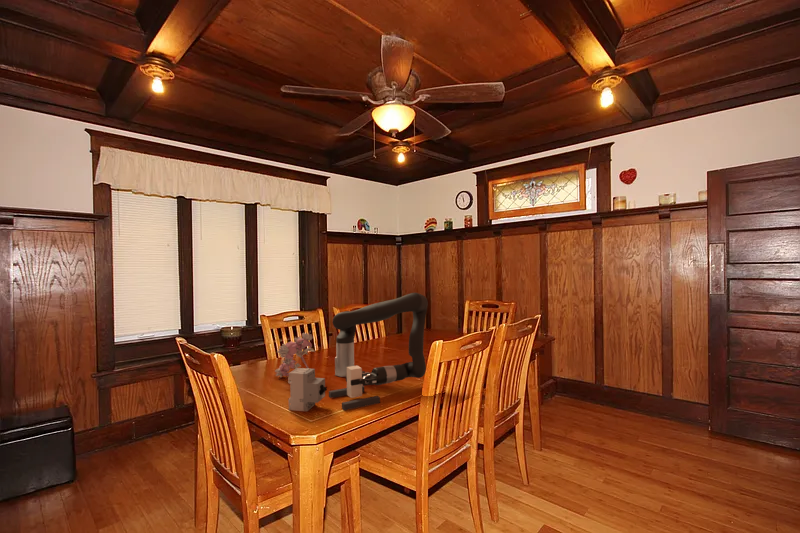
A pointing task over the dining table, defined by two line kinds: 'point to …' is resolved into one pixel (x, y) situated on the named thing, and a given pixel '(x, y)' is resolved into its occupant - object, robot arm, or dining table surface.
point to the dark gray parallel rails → (354, 403)
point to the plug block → (352, 374)
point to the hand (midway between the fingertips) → (348, 381)
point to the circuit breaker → (305, 389)
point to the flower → (290, 350)
